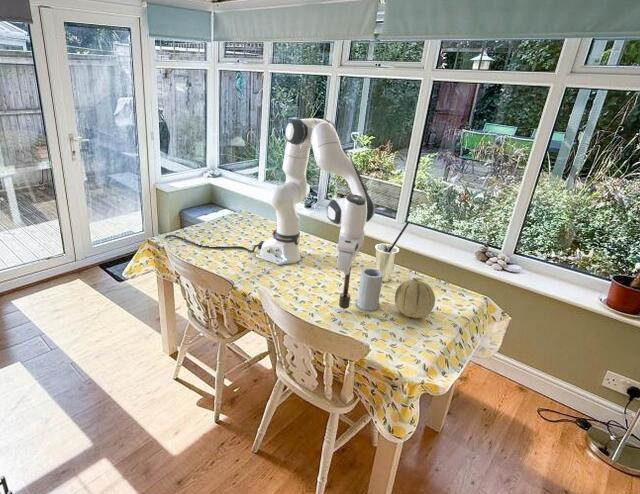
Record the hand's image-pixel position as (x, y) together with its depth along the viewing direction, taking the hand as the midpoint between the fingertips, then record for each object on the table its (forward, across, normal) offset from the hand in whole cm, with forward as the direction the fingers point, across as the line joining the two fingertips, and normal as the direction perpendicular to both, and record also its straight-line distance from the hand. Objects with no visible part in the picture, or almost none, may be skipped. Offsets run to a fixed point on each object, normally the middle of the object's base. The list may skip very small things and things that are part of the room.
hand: (347, 272), depth 157 cm
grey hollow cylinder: (+17, -8, +8) cm, 20 cm away
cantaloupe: (+17, -9, +25) cm, 32 cm away
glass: (+17, -34, +10) cm, 39 cm away
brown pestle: (+15, 0, 0) cm, 15 cm away
